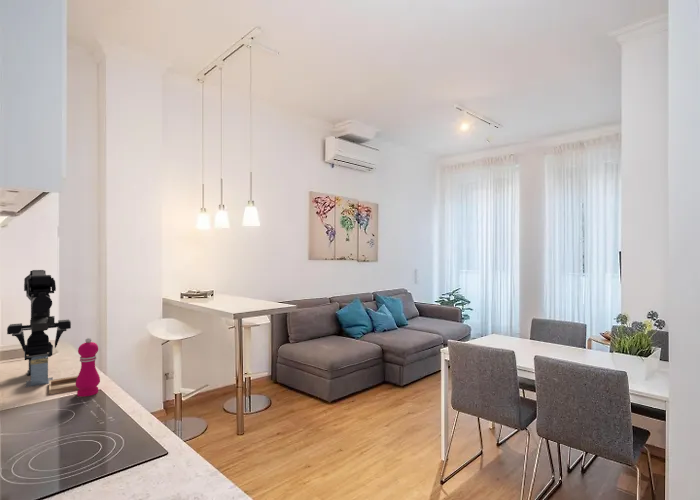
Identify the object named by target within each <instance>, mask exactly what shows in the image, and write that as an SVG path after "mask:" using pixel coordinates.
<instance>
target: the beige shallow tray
mask: <svg viewBox="0 0 700 500" xmlns="http://www.w3.org/2000/svg"><path fill="white" fill-rule="evenodd" d="M77 377H78V375H74V376H67V377H62V378H61V377H60V378H53V380H49V384H48V395H54V394H60V393H67V392H71V391H72V392H73V391H78V390H79V389H78V388H77V387H76V379H77Z"/></svg>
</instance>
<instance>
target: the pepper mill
mask: <svg viewBox="0 0 700 500" xmlns="http://www.w3.org/2000/svg"><path fill="white" fill-rule="evenodd" d="M77 349H78V350H77V352H78V355H79V356H80V357H79V362H80V364H81V365H80V371H79V372H78V375H77V376H78V377H77V379H76V387H77V388H78V389H79V390H76V395H77V397H81V398H82V397H90V396H94V395H96V394H98V393H99V387H98V386H99V384H100V383H101V377H100V375H99V372H98V371H97V368H96V360H97V359H98V358H97V357H98V355H97V354H98V352H99V346H98V344H97V343H96V342H93V341H92V338H90V337H87V338H86V339H85V342H83V343H82V344H80V345H79V347H78V348H77Z"/></svg>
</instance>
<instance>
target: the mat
mask: <svg viewBox="0 0 700 500" xmlns="http://www.w3.org/2000/svg"><path fill="white" fill-rule="evenodd" d="M49 380H54V378H53V377H48V383H47V384H41V385H40V386H43V385H49ZM37 386H39V385H35V386H34V387H37ZM31 387H33V386H31V380H27V381H26V382H25V387H24V388H31Z"/></svg>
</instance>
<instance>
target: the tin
mask: <svg viewBox="0 0 700 500" xmlns="http://www.w3.org/2000/svg"><path fill="white" fill-rule="evenodd" d="M48 378H49V357H48V355H47V356H39V357H32V358H31V375H30V381H31V386H32V387H36V386H35V385H38V386H42V385H41V384H45V385H48V384H47V383H48Z"/></svg>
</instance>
